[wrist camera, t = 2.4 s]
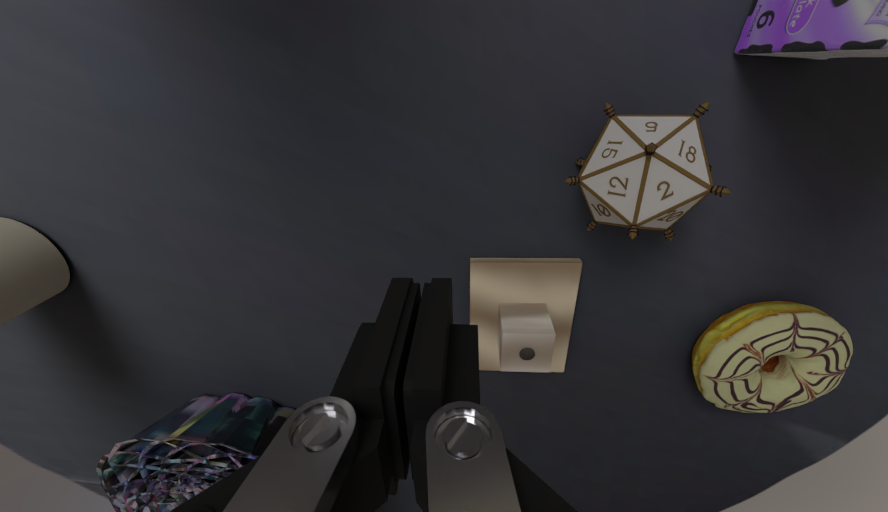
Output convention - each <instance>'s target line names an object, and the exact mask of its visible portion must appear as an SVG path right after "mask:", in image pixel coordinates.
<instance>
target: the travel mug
mask: <svg viewBox="0 0 888 512" xmlns="http://www.w3.org/2000/svg"><path fill="white" fill-rule="evenodd" d="M69 281H70V273H69V268H68V265H67V263H66V261H65V259H64V258H63V256H62V255H61V253H60V252H59V251H58V249H57V248H56V247H55V246H54V245H53V244H52V243H51V242H50V241H49V240H48V239H47V238H45V237H44V236H43V235H42V234H40V233H39V232H37V231H36V230H34V229H33V228H31V227H29V226H27V225H25V224H23V223H20V222H18V221H15V220H12V219H8V218H1V217H0V326H1V325H2V324H4V323H6V322H8V321H10V320H11V319H13V318H15V317H17V316H19V315H20V314H22V313H24V312H26V311H28V310H29V309H31V308H33V307H35V306H37V305H38V304H40V303H42V302H44V301H46V300H47V299H49V298H51V297H53V296H54V295H56V294H58V293H60V292H62V291H63V290H64V289H65V288H66V287H67V286H68V284H69Z"/></svg>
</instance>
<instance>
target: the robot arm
mask: <svg viewBox="0 0 888 512" xmlns="http://www.w3.org/2000/svg"><path fill="white" fill-rule="evenodd" d="M409 462H411V471H412V479H413V480H414V486H415V495H416V502H417V504H418V505H419V506H420V508H421V509H422V510H423V512H577V511H576V510H575V509H574V508H573V507H572V506H570V505H569V504H568V503H567V502H566V501H565V500H564V499H563V498H561V497H560V496H559V495H558V494H557V493H556V492H555V491H554V490H552V489H551V488H550V487H549V486H548V485H547V484H546V483H545V482H544V481H542V480H541V479H540V478H539V477H538V476H537V475H536V474H535V473H533V472H532V471H531V470H530V469H529V468H528V467H527V466H526V465H524V464H523V463H522V462H521V461H520V460H519V459H518V458H517V457H515V456H514V455H513V454H512V453H511V452H510V451H509V450H508V449H507V448H505V445H504V441H503V437H502V433H501V429H500V427H499V424H498V422H497V420H496V418H495V417H494V416H493V415H492V413H491V412H490V411H489V410H487V409H486V408H484V407H483V406H481V405H480V385H479V347H478V325H463V324H453V313H452V279H451V278H432V282H431V283H425V284H424V288H423V293H422V298H421V293H420V284H419V283H413V279H412V278H392V280H391V283H390V285H389V288H388V291H387V293H386V296H385V299H384V301H383V304H382V307H381V309H380V312H379V315H378V317H377V320H376V323H362V324H361V326H360V327H359V329H358V332H357V334H356V336H355V339H354V341H353V343H352V346H351V348H350V350H349V353H348V355H347V357H346V360H345V362H344V364H343V367H342V369H341V371H340V374H339V376H338V378H337V381H336V383H335V385H334V388H333V390H332V392H331V395H330V397H322V398H317V399H314V400H312V401H309V402H307V403H305V404H303V405H302V406H301V407H299V408H298V409H296V410H295V411H294V412H293V413H292V414H291V415H290V417H289V418H288V419H287V420H286V421H285V423H284V424H283V426H282V427H281V429H280V430H279V431H278V433H277V434H276V436H275V437H274V439H273V440H272V442H271V443H270V444H269V446H268V447H267V449H266V450H265V452H264V453H263V454H262V455H261V456H259V457H257V458H256V459H254V460H252V461H251V462H249V463H248V464H246V465H244V466H243V467H241V468H239V469H238V470H236V471H234V472H233V473H231V474H230V475H228V476H226V477H225V478H223V479H221V480H220V481H218V482H217V483H215V484H213V485H212V486H210V487H208V488H207V489H205V490H204V491H202V492H200V493H199V494H197V495H195V496H194V497H192V498H190V499H189V500H187V501H186V502H184V503H182V504H181V505H179V506H177V507H176V508H174V509H173V510H171V511H170V512H375V510H376V509H378V508H379V507H380V506H381V505H382V504H383V503H385V502H386V501H387V498H388V494H392V495H396V492H397V487H398V481H399V479H402V480H406V478H407V474H408V468H409Z"/></svg>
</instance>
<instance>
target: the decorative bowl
mask: <svg viewBox="0 0 888 512" xmlns="http://www.w3.org/2000/svg"><path fill="white" fill-rule="evenodd" d="M294 411H295V409H293V408H290V407H279V406H278V405H276V404H275V403H274V402H273V401H272V400H271V399H269V398H264V397H254V398H252V399H251V398H249V397H248V396H246V395H243V394H236V393H231V394H228V395H226V396H225V397H220V396H214V395H209V394H205V395H202V396H200V397H197V398H194V399H192V400H190V401H189V402H187V403H185V404H184V405H182V406H181V407H179V408H178V409H176V410H175V411H173V412H171V413H170V414H168V415H167V416H165V417H164V418H162V419H160V420H159V421H157V422H156V423H154V424H153V425H151V426H149V427H148V428H146V429H145V430H143V431H142V432H140V433H139V434H137V435H135V436H134V437H132V438H131V439H129V440H128V441H124V442H120V443H116V444H115V446H114V448H113V449H112V451H111V453H110V454H108V455H104V456H102V458H101V460H100V462H99V464H98V466H97V468H96V471H97V473H98V475H99V477H100V479H101V486H102V487H103V489H104V490H105V492H106V493H107V496H108V498H109V500H110V502H111V504H112V506H113V508H114V509H115V511H116V512H170V511H171V510H173V509H174V508H176V507H177V506H179V505H181V504H182V503H184V502H186V501H187V500H189V499H190V498H192V497H194V496H195V495H197V494H199V493H200V492H202V491H204V490H205V489H207V488H208V487H210V486H212V485H213V484H215V483H217V482H218V481H220V480H221V479H223V478H225V477H226V476H228V475H230V474H231V473H233V472H234V471H236V470H238V469H239V468H241V467H243V466H244V465H246V464H248V463H249V462H251V461H252V460H254V459H256V458H257V457H259V456H261V455H262V454H263V453H264V452H265V450H266V449H267V447H268V446H269V444H270V443H271V442H272V440H273V439H274V437H275V436H276V434H277V433H278V431H279V430H280V429H281V427H282V426H283V424H284V423H285V421H286V420H287V419H288V418H289V417H290V415H291V414H292V413H293V412H294Z"/></svg>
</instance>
